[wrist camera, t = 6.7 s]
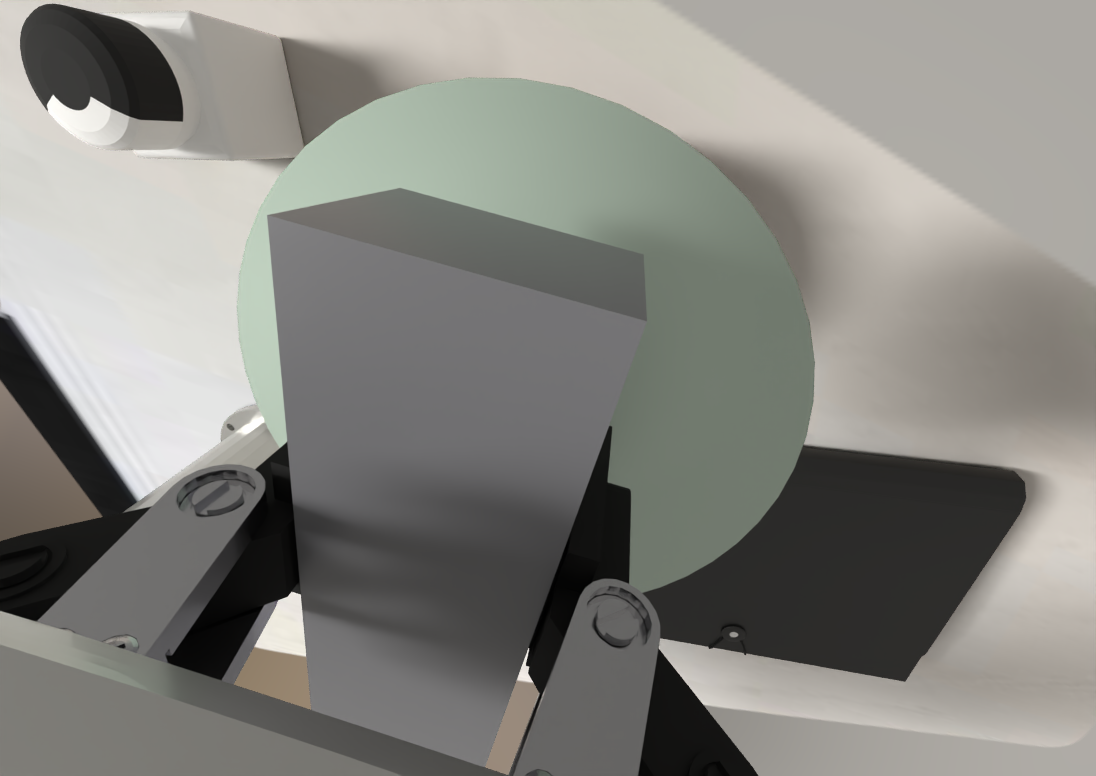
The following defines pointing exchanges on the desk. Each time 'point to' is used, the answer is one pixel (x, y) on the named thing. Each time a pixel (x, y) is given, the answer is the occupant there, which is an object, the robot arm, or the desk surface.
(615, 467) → the cover
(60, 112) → the medicine bottle
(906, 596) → the file folder
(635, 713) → the robot arm
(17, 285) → the desk surface
